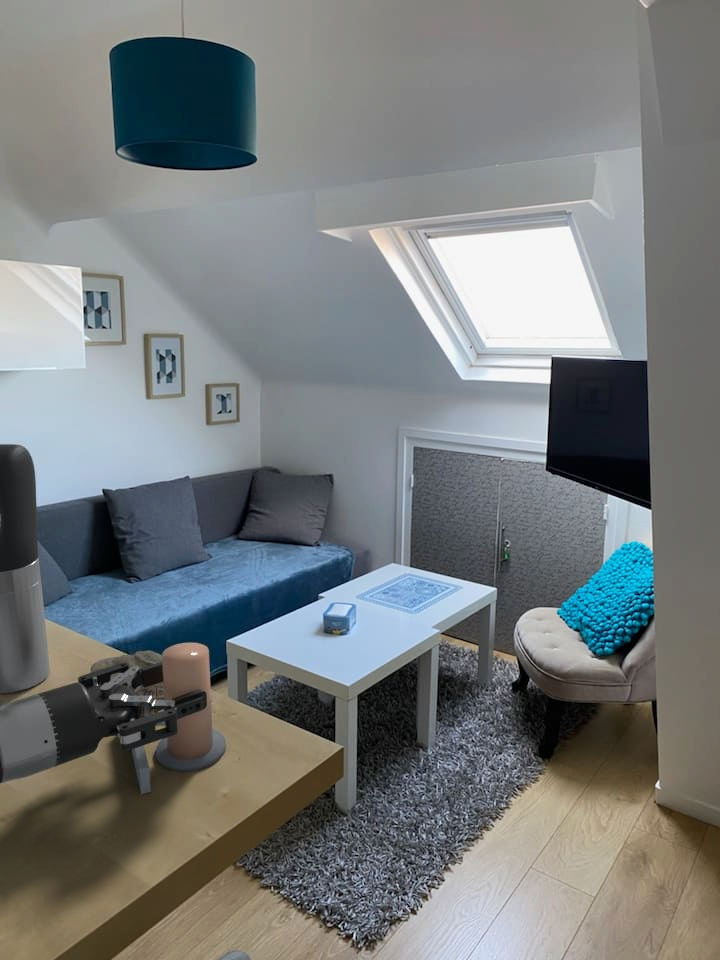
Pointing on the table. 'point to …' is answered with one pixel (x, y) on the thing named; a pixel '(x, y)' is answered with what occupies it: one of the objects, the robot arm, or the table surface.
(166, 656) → the peach rounded cylinder
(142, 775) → the gray rectangular bar
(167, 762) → the slate coaster
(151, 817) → the table surface
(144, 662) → the fossilized seashell
